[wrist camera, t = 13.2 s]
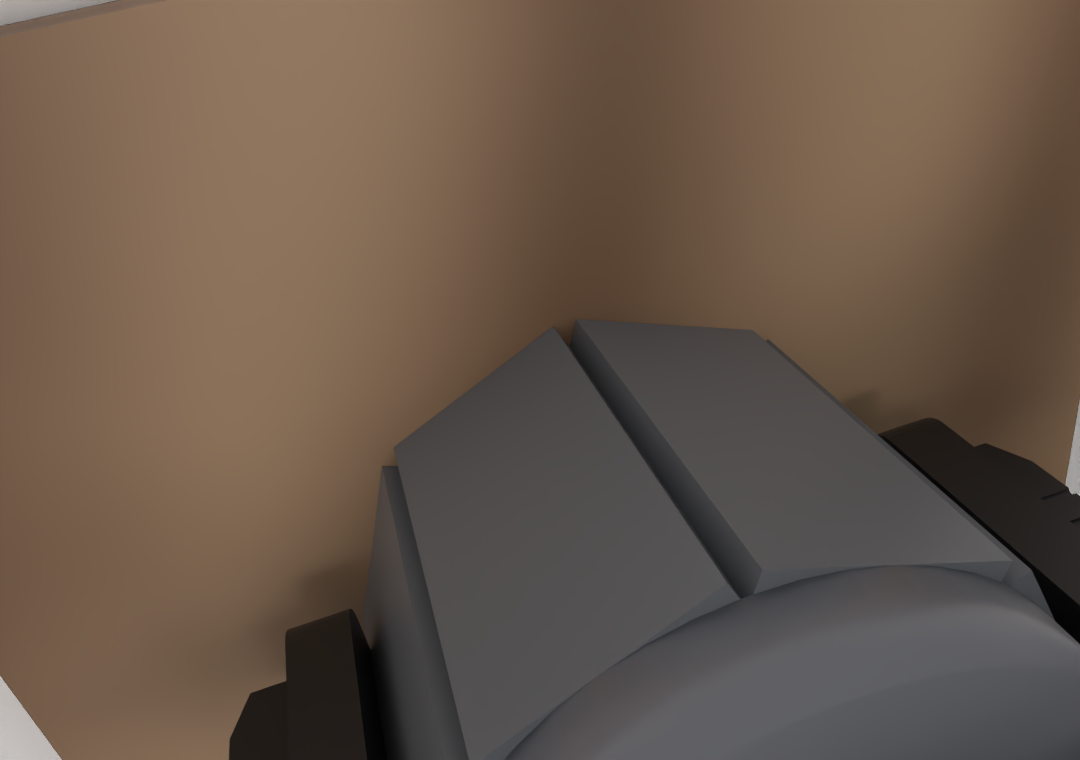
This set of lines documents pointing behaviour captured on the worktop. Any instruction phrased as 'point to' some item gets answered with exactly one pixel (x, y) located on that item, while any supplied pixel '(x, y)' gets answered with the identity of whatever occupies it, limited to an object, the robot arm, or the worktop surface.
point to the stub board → (464, 276)
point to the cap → (694, 574)
